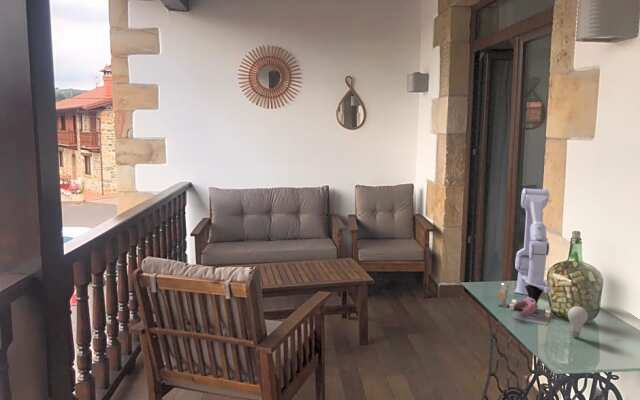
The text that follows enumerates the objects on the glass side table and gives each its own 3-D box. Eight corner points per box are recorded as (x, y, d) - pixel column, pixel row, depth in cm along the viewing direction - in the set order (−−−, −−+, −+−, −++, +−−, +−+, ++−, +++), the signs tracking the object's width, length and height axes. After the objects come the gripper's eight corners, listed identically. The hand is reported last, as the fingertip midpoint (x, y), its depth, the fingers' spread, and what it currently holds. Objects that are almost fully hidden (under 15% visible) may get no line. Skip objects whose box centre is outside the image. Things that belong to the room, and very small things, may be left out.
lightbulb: (583, 335, 180) (587, 305, 178) (586, 342, 174) (590, 311, 172) (564, 332, 182) (567, 302, 180) (566, 339, 176) (569, 308, 174)
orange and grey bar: (501, 286, 206) (501, 281, 205) (508, 287, 204) (509, 283, 204) (497, 297, 194) (497, 292, 194) (505, 298, 193) (505, 293, 193)
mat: (515, 311, 200) (515, 310, 200) (548, 317, 194) (549, 317, 194) (511, 318, 193) (511, 317, 193) (546, 325, 187) (546, 325, 187)
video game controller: (531, 321, 193) (541, 306, 192) (520, 315, 193) (530, 300, 192) (524, 312, 203) (534, 297, 201) (514, 306, 203) (523, 291, 202)
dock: (500, 301, 209) (502, 286, 208) (551, 311, 200) (552, 295, 199) (497, 307, 203) (498, 291, 202) (549, 317, 194) (551, 300, 193)
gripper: (558, 275, 194) (555, 310, 197) (532, 264, 208) (529, 296, 211) (543, 277, 192) (539, 312, 195) (517, 265, 206) (514, 298, 208)
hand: (533, 304), depth 203 cm, fingers closed
